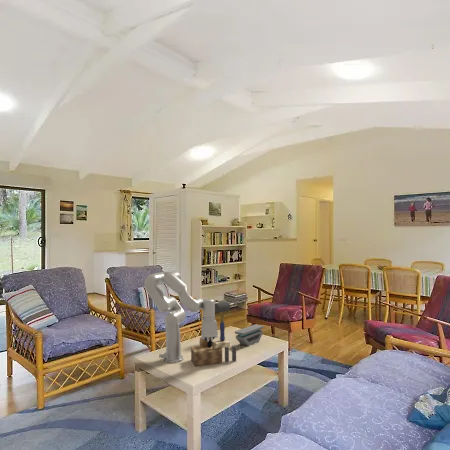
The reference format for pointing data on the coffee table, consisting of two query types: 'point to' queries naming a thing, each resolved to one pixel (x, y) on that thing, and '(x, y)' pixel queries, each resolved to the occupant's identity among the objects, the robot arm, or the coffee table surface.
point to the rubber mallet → (222, 316)
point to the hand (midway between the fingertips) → (209, 347)
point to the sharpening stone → (249, 335)
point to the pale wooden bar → (220, 344)
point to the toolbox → (212, 357)
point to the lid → (203, 347)
